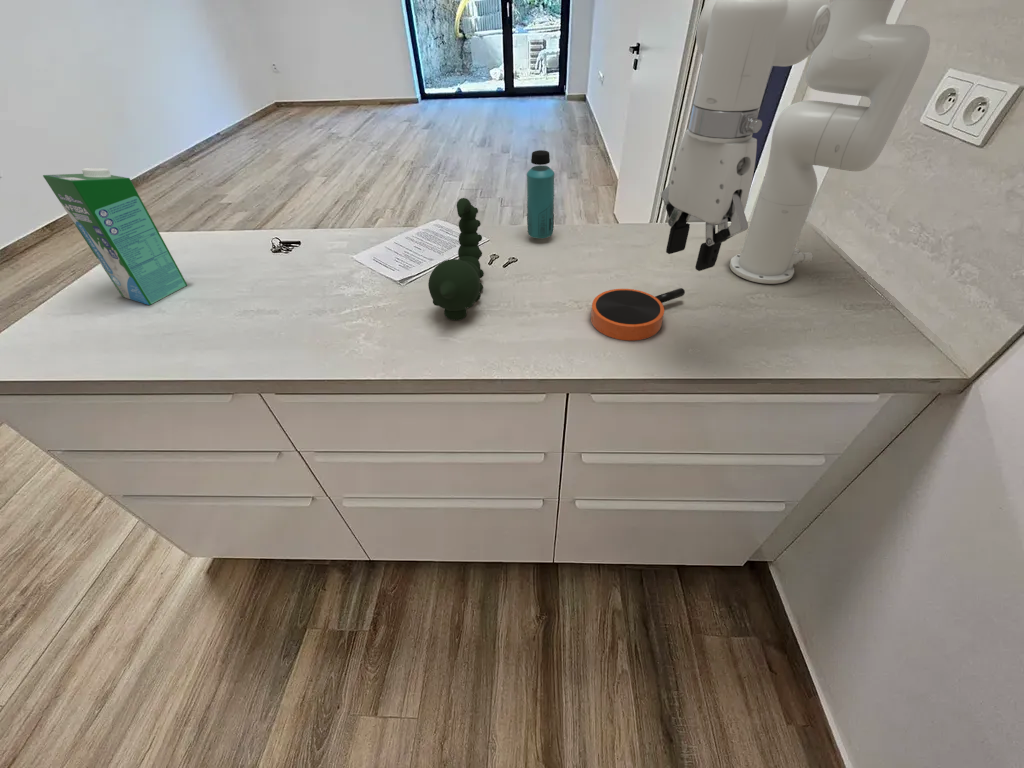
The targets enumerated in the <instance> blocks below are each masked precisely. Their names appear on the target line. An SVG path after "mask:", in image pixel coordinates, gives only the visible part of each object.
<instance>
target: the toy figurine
mask: <svg viewBox="0 0 1024 768" xmlns="http://www.w3.org/2000/svg"><path fill="white" fill-rule="evenodd" d="M456 211H457V216H458V217H459V218H460V219H459V221H458V228H459V231H460V233H459V235H458V244H459V247H458V250H457V255H458V256H457V257H458V259H457V258H452V259H451V258H450V259H446V260H443V261H441V262H440V263H439V264H437V265H436V266H435V267H434V268H433V269H432V271H431V274H430V275H429V278H428V282H427V283H428V284H427V286H428V291H429V293H430V297H431V300H432V304H433V306H436V307H439V308H442V309H444V310H443V315H444V316H445V318H447V319H448V320H450V321H461V320H464V319H465V318H466V316H467V312H468V311H467V309H469V308H472V307H473V305H474V304H475V303H476V302H478V301H479V300H480V299H481V296H482V294H481V293H482V291H483V290H484V285H483V284H482V282H481V279H482V278H483V277H484V275H485V272H484V270H483V269H482V268H481V263H480V261H479V260H480V258H481V257H482V256H483V252H482V250H481V249H480V247H479V245H480V242H482V240H483V236H482V234H479V233H478V229H479V227H480V226H481V220H479V219H476V217H477V214H478V213H479V209H478V208H477V207H475V206H473V205H472V203H471V201H470V200H469V199H468V198H465V197H461V198H459V199H458V201H457V202H456Z"/></svg>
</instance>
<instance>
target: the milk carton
mask: <svg viewBox="0 0 1024 768" xmlns="http://www.w3.org/2000/svg"><path fill="white" fill-rule="evenodd" d="M81 171H82V173H63V174H60V173H59V174H43V175H42V177H43V178H44V180H45V182H46V183H47V185H48V186H49V188H50V189H51V191H52V192H53V194H54V195H55V196H56V198H57V200H58V202H59V203H60V204H61V206H62V208H63V209H64V210H65V212H66V213H67V215H68V217H69V218H70V220H71V221H72V223H73V224H74V225H75V227H76V229H77V230H78V232H79V234H80V235H81V237H82V238H83V240H84V241H85V243H86V244H87V246H88V247H89V249H90V250H91V251H92V253H93V254H94V256H95V258H96V260H97V261H98V262H99V264H100V265H101V267H102V268H103V270H104V271H105V273H106V275H107V276H108V277H109V279H110V280H111V282H112V284H113V286H114V287H115V288H116V289H117V291H118V293H119V295H121V297H122V298H124V299H128V300H131V301H135V302H137V303H141V304H145V305H147V306H151V305H153V304H155V303H157V302H158V301H161V300H162V299H164V298H166V297H168V296H170V295H172V294H174V293H175V292H178V291H179V290H181V289H183V288H185V287H187V286H188V283H187V281H186V279H185V278H184V276H183V274H182V272H181V270H180V269H179V267H178V265H177V263H176V261H175V259H174V257H173V255H172V253H171V252H170V250H169V249H168V246H167V244H166V243H165V241H164V239H163V237H162V235H161V234H160V231H159V230H158V228H157V225H156V224H155V222H154V221H153V219H152V217H151V214H150V213H149V211H148V209H147V208H146V206H145V204H144V202H143V200H142V198H141V196H140V194H139V193H138V191H137V189H136V187H135V185H134V184H133V182H132V180H131V178H130V177H125V176H120V175H114V174H111V172H110V169H109V168H103V167H101V168H99V167H85V168H81Z"/></svg>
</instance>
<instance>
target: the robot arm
mask: <svg viewBox="0 0 1024 768" xmlns="http://www.w3.org/2000/svg"><path fill="white" fill-rule="evenodd" d="M894 3H895V0H832V1H831V2H830V0H706V1H705V3H704V6H703V8H702V10H701V12H700V15H699V19H698V22H697V26H696V33H695V34H696V37H695V41H696V46H697V48H698V51H699V52H700V54H701V55H702V59H701V65H700V69H699V74H698V79H697V85H696V89H695V95H694V99H693V104H692V109H691V113H690V119H689V123H688V129H686V130H685V131H684V134H683V137H682V139H681V142H680V145H679V148H678V152H677V155H676V157H675V161H674V165H673V169H672V173H671V176H670V177H671V178H670V182H669V184H668V185H667V186H666V187H665V188H664V189H663V190H662V191H661V194H660V196H661V198H662V201H663V203H664V205H665V210H666V213H667V216H668V221H667V224H668V226H669V227H670V229H669V235H668V239H667V244H666V249H665V252H666V254H668V255H672V254H675V253H678V252H679V253H680V252H682V251H685V249H686V246H687V241H688V238H689V237H688V235H689V232H690V228H691V226H690V225H691V224H690V223H689V222H688V221H689V219H690V217H691V216H692V217H694V218H696V219H699V220H701V221H703V222H705V242H702V243H701V244H700V246H699V251H698V254H697V259H696V261H695V270H696V271H698V272H701V271H705V270H708V269H710V268H713V267H715V265H716V263H717V260H718V257H719V253H720V250H721V246H722V243H724V242H727V241H728V240H729V239H730V238H732V237H734V236H736V235H738V234H741V233H743V232H744V231H746V230H747V233H746V236H745V238H744V242H743V245H742V248H741V252H740V253H738V254H735V255H733V256H732V257H731V259H730V261H729V268H730V270H731V272H733V273H734V274H735V275H736V276H738V277H740V278H742V279H744V280H747V281H750V282H753V283H758V284H769V285H775V284H776V285H777V284H783V283H786V282H788V281H789V280H791V279H792V278H793V276H794V274H795V268H794V265H797V264H798V263H807V262H811V261H812V260H813V257H814V256H813V253H812V252H811V251H807V252H800V249H799V248H796V246H797V244H798V241H799V239H800V236H801V233H802V231H803V228H804V225H805V223H806V221H807V219H808V217H809V213H810V211H811V208H812V205H813V203H814V200H815V198H816V195H817V191H818V178H817V174H816V170H815V168H814V166H817V167H823V168H830V169H834V170H835V169H836V170H841V171H848V172H861V171H865V170H867V169H869V168H870V167H871V166H872V165H873V164H874V163H875V162H876V161H877V160H878V158H879V157H880V155H881V153H882V152H883V150H884V149H885V146H886V144H887V143H888V140H889V138H890V136H891V134H892V132H893V130H894V127H895V126H896V124H897V122H898V120H899V117H900V115H901V113H902V112H903V109H904V107H905V105H906V103H907V101H908V99H909V96H910V95H911V92H912V90H913V88H914V87H915V84H916V82H917V80H918V79H919V76H920V73H921V72H922V69H923V67H924V64H925V62H926V59H927V57H928V53H929V50H930V45H931V36H930V33H929V32H928V30H927V29H926V28H924V27H923V26H919V25H915V24H895V23H887V20H888V17H889V15H890V12H891V10H892V8H893V5H894ZM810 55H811V56H810ZM809 56H810V58H809V62H808V65H807V68H806V73H805V82H806V85H807V86H808V87H809V88H810V89H812V90H814V91H819V92H823V93H829V94H838V95H848V96H855V97H856V96H858V97H865V98H868V99H869V100H870V104H869V106H863V105H854V104H845V103H841V102H832V101H824V100H801V101H797V102H794V103H792V104H790V105H788V106H787V107H786V108H784V109H783V110H782V112H781V113H780V114H779V115H778V117H777V119H776V121H775V124H774V127H773V131H772V136H771V143H770V150H769V157H768V161H767V165H766V170H765V174H764V178H763V181H762V184H761V189H760V190H759V194H758V197H757V201H756V204H755V207H754V210H753V213H752V217H751V219H750V223H749V222H748V220H747V216H746V213H745V211H746V207H747V204H748V200H749V196H750V191H751V188H752V183H753V178H754V171H755V167H756V159H757V149H758V139H757V138H755V137H753V134H757V133H758V132H760V130H761V129H762V126H763V121H762V120H761V119H759V118H758V117H759V113H760V109H761V105H762V103H763V102H762V101H763V98H764V95H765V91H766V88H767V83H768V80H769V76H770V73H771V70H772V67H792V66H794V65H797V64H799V63H802V61H804V60H805V59H807V58H808V57H809ZM729 219H730V225H729ZM748 223H749V224H748ZM728 225H729V226H728ZM716 226H717V232H716Z"/></svg>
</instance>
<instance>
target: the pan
mask: <svg viewBox="0 0 1024 768" xmlns="http://www.w3.org/2000/svg"><path fill="white" fill-rule="evenodd" d="M685 293H686V291H685V289H684V288H683V287H679V288H676V289H673V290H670V291H667V292H663V293H660V294H658V295H655V296H654V295H653V294H650V293H648V292H646V291H642V290H639V289H633V288H613V289H609V290H605V291H603V292H601V293H599V294H597V295H596V296H595V297H594V298H593V300H592V302H591V313H590V322H591V325H592V326H593V327H594V329H595V330H597V331H598V332H599V333H600V334H602V335H604V336H606V337H609V338H612V339H616V340H619V341H629V342H630V341H641V340H646V339H649V338H651V337H654V336H655V335H656V334H658V333H659V331H661V328H662V325H663V320H664V315H665V306H664V304H663V303H666V302H669V301H672V300H675V299H678V298H681V297H683V296H684V295H685Z"/></svg>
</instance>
